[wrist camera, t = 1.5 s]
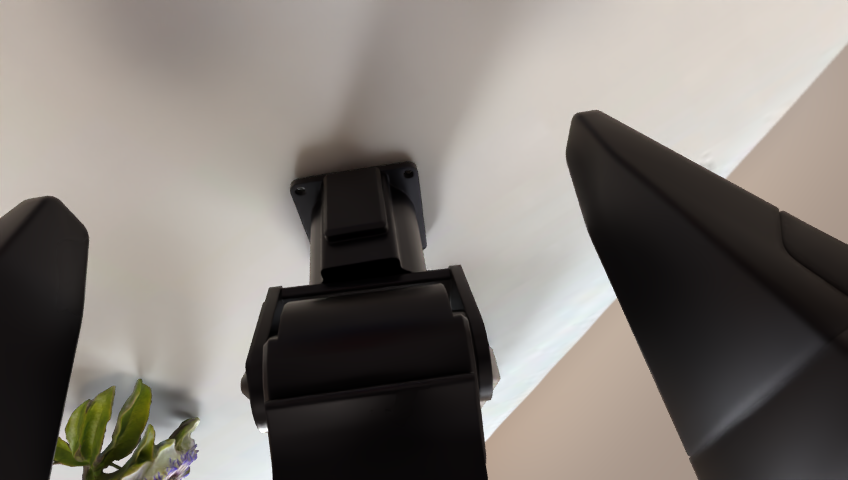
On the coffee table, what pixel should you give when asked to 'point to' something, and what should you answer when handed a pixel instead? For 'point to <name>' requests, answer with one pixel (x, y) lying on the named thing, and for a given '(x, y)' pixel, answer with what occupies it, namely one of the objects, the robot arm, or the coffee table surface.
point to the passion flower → (125, 441)
